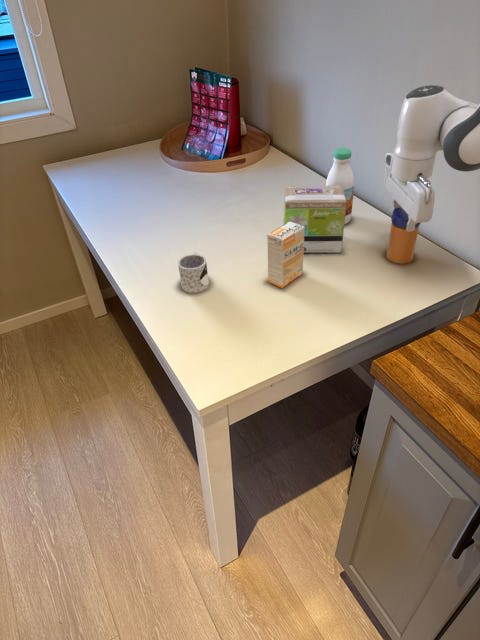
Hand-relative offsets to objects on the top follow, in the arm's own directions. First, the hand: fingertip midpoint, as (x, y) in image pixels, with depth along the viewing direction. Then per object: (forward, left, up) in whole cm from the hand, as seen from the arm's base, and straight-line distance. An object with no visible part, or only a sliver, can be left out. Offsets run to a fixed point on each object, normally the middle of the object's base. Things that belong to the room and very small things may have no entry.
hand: (402, 222), depth 116 cm
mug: (+50, +10, -10) cm, 52 cm away
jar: (-1, 0, -10) cm, 10 cm away
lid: (-1, 0, +2) cm, 2 cm away
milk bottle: (+13, -21, -10) cm, 26 cm away
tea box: (+21, -7, -10) cm, 24 cm away
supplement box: (+28, +9, -10) cm, 31 cm away
